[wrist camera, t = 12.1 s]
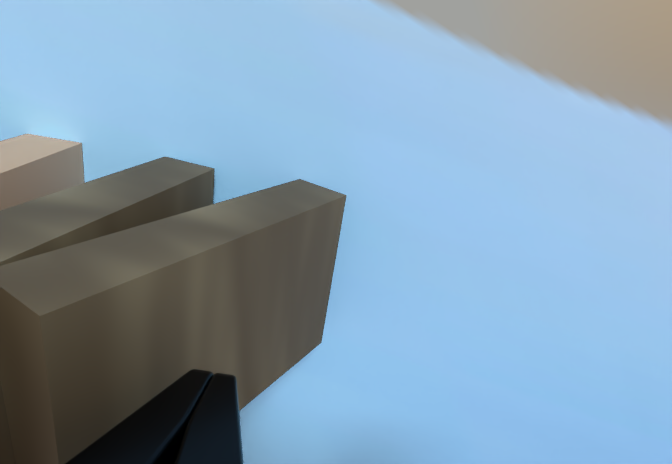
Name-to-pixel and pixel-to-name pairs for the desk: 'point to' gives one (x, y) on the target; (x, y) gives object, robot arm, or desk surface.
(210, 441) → the robot arm
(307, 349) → the domino
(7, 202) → the domino
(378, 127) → the desk surface
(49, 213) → the domino
